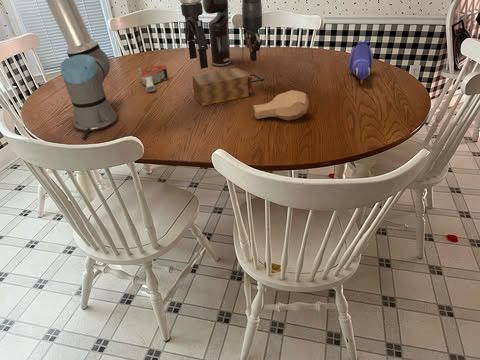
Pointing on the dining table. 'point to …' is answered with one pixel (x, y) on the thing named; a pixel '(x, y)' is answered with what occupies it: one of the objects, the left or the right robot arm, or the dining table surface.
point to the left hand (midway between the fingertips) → (198, 63)
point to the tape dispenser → (152, 76)
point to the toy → (361, 60)
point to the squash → (284, 106)
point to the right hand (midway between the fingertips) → (253, 60)
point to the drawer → (252, 80)
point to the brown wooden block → (220, 86)
